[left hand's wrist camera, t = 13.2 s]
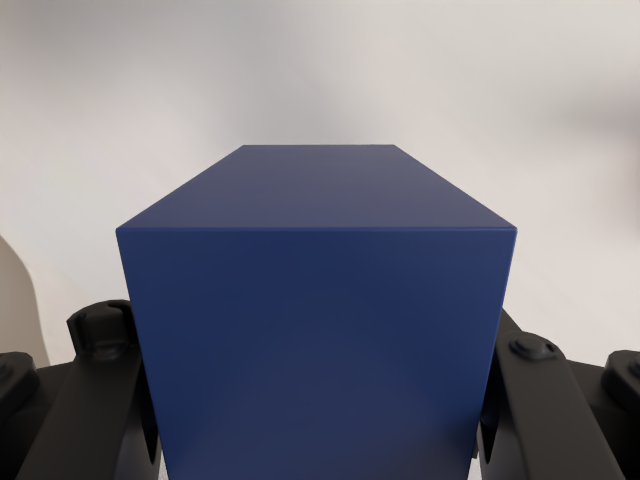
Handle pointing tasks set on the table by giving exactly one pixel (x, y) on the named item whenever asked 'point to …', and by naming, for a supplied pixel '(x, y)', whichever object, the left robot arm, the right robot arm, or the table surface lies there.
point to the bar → (317, 315)
